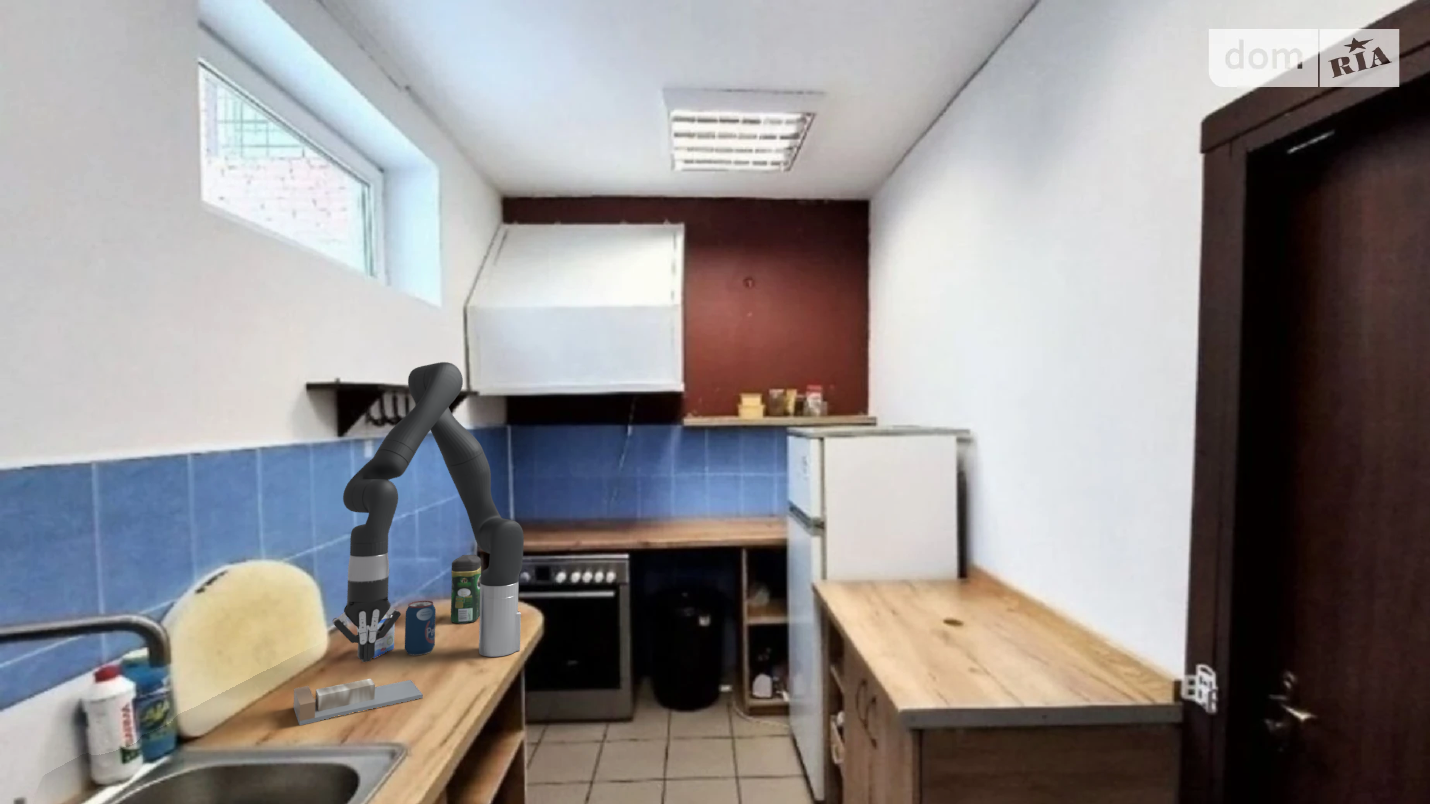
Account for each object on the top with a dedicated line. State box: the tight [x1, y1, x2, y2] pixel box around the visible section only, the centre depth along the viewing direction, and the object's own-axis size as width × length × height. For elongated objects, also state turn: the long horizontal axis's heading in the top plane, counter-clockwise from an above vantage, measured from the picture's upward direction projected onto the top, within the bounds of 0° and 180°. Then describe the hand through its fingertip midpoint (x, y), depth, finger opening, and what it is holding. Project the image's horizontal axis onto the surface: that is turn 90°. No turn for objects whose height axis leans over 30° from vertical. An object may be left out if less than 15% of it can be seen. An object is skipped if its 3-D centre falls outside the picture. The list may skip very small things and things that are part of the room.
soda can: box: [404, 600, 437, 656], centre depth 170 cm, size 7×7×12 cm
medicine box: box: [366, 613, 396, 659], centre depth 169 cm, size 8×4×9 cm, turn 168°
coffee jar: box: [450, 554, 482, 625], centre depth 199 cm, size 10×8×19 cm
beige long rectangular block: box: [314, 678, 376, 711], centre depth 137 cm, size 3×4×10 cm
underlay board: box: [293, 679, 424, 726], centre depth 139 cm, size 22×10×4 cm, turn 127°
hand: (365, 660), depth 139 cm, fingers closed
